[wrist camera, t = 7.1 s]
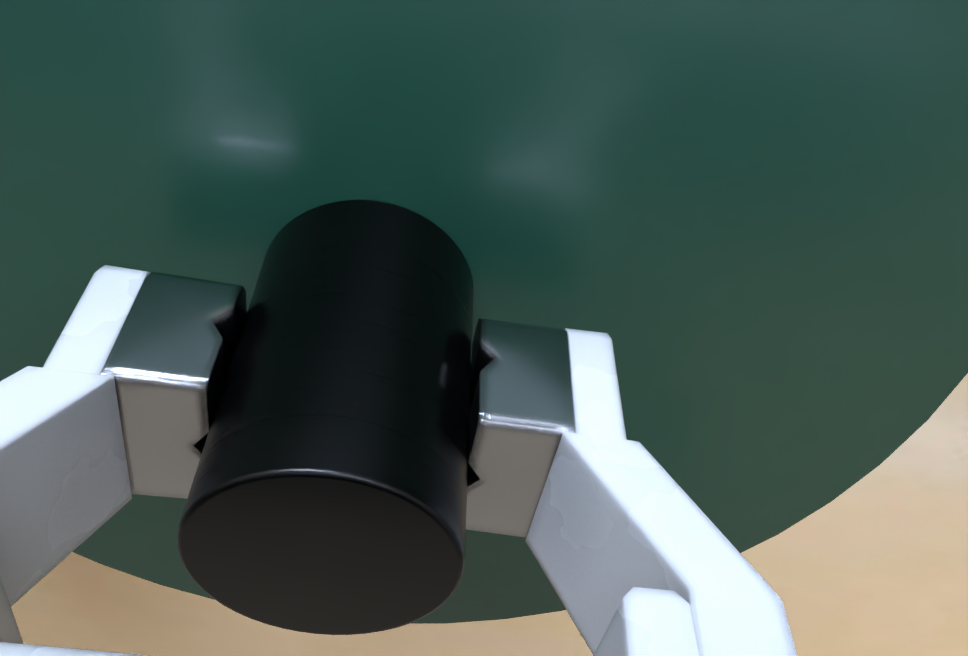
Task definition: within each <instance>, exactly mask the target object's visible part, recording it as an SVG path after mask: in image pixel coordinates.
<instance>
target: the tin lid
mask: <svg viewBox="0 0 968 656" xmlns="http://www.w3.org/2000/svg"><path fill="white" fill-rule="evenodd" d="M104 265H109V266H116V267H122V268H128V269H135V270H141V271H147V272H159V273H165V274H172V275H178V276H184V277H190V278H197V279H203V280H209V281H216V282H222V283H228V284H235V285H241V286H243V287H244V288H245V290H246V303H247V314H246V318H245V321H244V324H243V327H242V330H241V333H240V336H239V339H238V342H237V346H236V349H235V352H234V355H233V358H232V361H231V364H230V367H229V370H228V374H227V377H226V380H225V383H224V386H223V389H222V392H221V395H220V398H219V402H218V405H217V408H216V411H215V414H214V417H213V420H212V423H211V426H210V430H209V433H208V436H207V439H206V442H205V445H204V448H203V451H202V454H201V457H200V461H199V464H198V467H197V470H196V473H195V476H194V479H193V482H192V485H191V489H190V492H189V495H188V498H187V499H186V498H174V497H162V496H150V495H139V494H132V499H131V500H130V501H129V502H128V503H127V504H125V505H124V506H123V507H122V508H121V509H120V510H119V511H118V512H116V513H115V514H114V515H113V516H112V517H111V518H110V519H109V520H107V521H106V522H105V523H104V524H103V525H102V526H101V527H100V528H99V529H97V530H96V531H95V532H94V533H93V534H92V535H91V536H90V537H88V538H87V539H86V540H85V541H84V542H83V543H82V544H81V545H79V546H78V547H77V548H76V549H75V550H74V551H73V552H74V553H76V554H79V555H81V556H83V557H86V558H88V559H90V560H93V561H95V562H97V563H100V564H102V565H105V566H108V567H111V568H114V569H117V570H119V571H122V572H125V573H128V574H131V575H134V576H137V577H139V578H142V579H145V580H148V581H151V582H154V583H157V584H160V585H163V586H167V587H170V588H174V589H178V590H181V591H185V592H189V593H192V594H196V595H200V596H203V597H207V598H211V599H214V600H217V601H218V602H219V603H221V604H222V605H224V606H226V607H228V608H230V609H232V610H233V611H235V612H237V613H240V614H242V615H244V616H246V617H249V618H251V619H254V620H257V621H260V622H262V623H265V624H269V625H272V626H276V627H280V628H284V629H289V630H294V631H299V632H307V633H314V634H328V635H352V634H366V633H372V632H379V631H384V630H389V629H393V628H397V627H400V626H403V625H406V624H409V623H457V622H471V621H485V620H498V619H508V618H515V617H522V616H529V615H536V614H542V613H549V612H556V611H562V610H566V608H565V607H564V605H563V603H562V602H561V600H560V598H559V597H558V595H557V593H556V591H555V590H554V588H553V586H552V585H551V583H550V581H549V580H548V578H547V576H546V575H545V573H544V571H543V570H542V568H541V566H540V565H539V563H538V561H537V560H536V558H535V556H534V555H533V553H532V551H531V550H530V548H529V546H528V544H527V543H526V537H518V536H511V535H504V534H497V533H489V532H482V531H475V530H467V529H466V508H467V477H468V447H469V414H470V385H471V384H470V381H471V358H472V342H473V337H474V333H475V329H476V325H477V322H478V320H479V318H483V319H491V320H499V321H507V322H514V323H522V324H530V325H538V326H545V327H553V328H561V329H563V330H564V329H565V328H568V329H576V330H585V331H593V332H602V333H608V335H609V336H610V337H611V339H612V343H613V350H614V357H615V364H616V370H617V377H618V384H619V391H620V397H621V404H622V411H623V418H624V425H625V431H626V438H627V440H631V441H638V442H640V443H641V444H642V445H643V446H644V447H645V448H646V449H647V451H648V452H649V453H650V454H651V455H652V456H653V457H654V458H655V459H656V461H657V462H658V463H659V464H660V465H661V466H662V467H663V468H664V469H665V471H666V472H667V473H668V474H669V475H670V476H671V477H672V478H673V479H674V480H675V482H676V483H677V484H678V485H679V486H680V487H681V488H682V489H683V490H684V492H685V493H686V494H687V495H688V496H689V497H690V498H691V499H692V500H693V502H694V503H695V504H696V505H697V506H698V507H699V508H700V509H701V510H702V512H703V513H704V514H705V515H706V516H707V517H708V518H709V519H710V520H711V522H712V523H713V524H714V525H715V526H716V527H717V528H718V529H719V530H720V531H721V533H722V534H723V535H724V536H725V537H726V538H727V539H728V540H729V541H730V543H731V544H732V545H733V546H734V547H735V548H736V549H737V550H738V551H739V553H741V552H743V551H745V550H747V549H749V548H751V547H753V546H755V545H757V544H759V543H761V542H763V541H765V540H767V539H769V538H771V537H773V536H776V535H778V534H779V533H781V532H783V531H784V530H786V529H787V528H789V527H791V526H792V525H794V524H796V523H797V522H799V521H800V520H802V519H804V518H805V517H807V516H809V515H810V514H812V513H813V512H815V511H817V510H818V509H820V508H822V507H823V506H825V505H826V504H828V503H830V502H831V501H832V500H834V499H835V498H836V497H838V496H839V495H840V494H842V493H843V492H844V491H846V490H847V489H848V488H850V487H851V486H852V485H854V484H855V483H856V482H858V481H859V480H860V479H861V478H863V477H864V476H865V475H867V474H868V473H869V472H871V471H872V470H873V469H875V468H876V467H877V466H879V465H880V464H881V463H882V462H883V461H884V460H885V459H886V458H888V457H889V456H890V455H891V454H892V453H893V452H894V451H895V450H896V449H897V448H898V447H899V446H900V445H901V444H902V443H904V442H905V441H906V440H907V439H908V438H909V437H910V436H911V435H912V434H913V433H914V432H915V431H916V430H917V429H918V428H919V427H921V426H922V425H923V424H924V423H925V422H926V421H927V420H928V419H929V418H930V417H931V415H932V414H933V413H934V412H935V411H936V410H937V408H938V407H939V406H940V405H941V404H942V402H943V401H944V400H945V399H946V398H947V397H948V395H949V394H950V393H951V392H952V391H953V389H954V388H955V387H956V386H957V385H958V384H959V382H960V381H961V380H962V379H963V378H964V377H965V375H966V374H967V373H968V0H0V381H2V380H3V379H5V378H7V377H9V376H11V375H12V374H14V373H16V372H18V371H20V370H21V369H23V368H25V367H27V366H32V367H41V368H42V367H43V366H44V364H45V362H46V360H47V358H48V356H49V355H50V353H51V351H52V349H53V347H54V345H55V344H56V342H57V340H58V338H59V336H60V335H61V333H62V331H63V329H64V327H65V325H66V324H67V322H68V320H69V318H70V316H71V315H72V313H73V311H74V309H75V307H76V305H77V304H78V302H79V300H80V298H81V296H82V295H83V293H84V291H85V289H86V287H87V285H88V284H89V282H90V280H91V278H92V276H93V274H94V273H95V272H96V271H97V270H99V269H100V268H101V267H103V266H104Z"/></svg>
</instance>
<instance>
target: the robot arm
mask: <svg viewBox="0 0 968 656" xmlns="http://www.w3.org/2000/svg"><path fill="white" fill-rule="evenodd" d="M246 314H247V303H246V290H245V288H244V287H243V286H241V285H235V284H228V283H222V282H216V281H209V280H203V279H197V278H190V277H184V276H178V275H172V274H165V273H159V272H147V271H141V270H135V269H128V268H122V267H116V266H109V265H104V266H103V267H101V268H100V269H99V270H97V271H96V272H95V273H94V274H93V276H92V278H91V280H90V282H89V284H88V285H87V287H86V289H85V291H84V293H83V295H82V296H81V298H80V300H79V302H78V304H77V305H76V307H75V309H74V311H73V313H72V315H71V316H70V318H69V320H68V322H67V324H66V325H65V327H64V329H63V331H62V333H61V335H60V336H59V338H58V340H57V342H56V344H55V345H54V347H53V349H52V351H51V353H50V355H49V356H48V358H47V360H46V362H45V364H44V366H43V367H42V368H41V367H32V366H27V367H25V368H23V369H21V370H20V371H18V372H16V373H14V374H12V375H11V376H9V377H7V378H5V379H3V380H2V381H0V656H148V655H137V654H126V653H116V652H105V651H94V650H83V649H72V648H62V647H51V646H40V645H29V644H23V641H22V638H21V635H20V632H19V630H18V627H17V624H16V621H15V618H14V615H13V612H12V609H11V606H12V605H13V604H14V603H15V602H17V601H18V600H19V599H20V598H21V597H22V596H23V595H24V594H25V593H27V592H28V591H29V590H30V589H31V588H32V587H33V586H34V585H36V584H37V583H38V582H39V581H40V580H41V579H42V578H43V577H45V576H46V575H47V574H48V573H49V572H50V571H51V570H52V569H54V568H55V567H56V566H57V565H58V564H59V563H60V562H61V561H63V560H64V559H65V558H66V557H67V556H68V555H69V554H70V553H72V552H73V551H74V550H75V549H76V548H77V547H78V546H79V545H81V544H82V543H83V542H84V541H85V540H86V539H87V538H88V537H90V536H91V535H92V534H93V533H94V532H95V531H96V530H97V529H99V528H100V527H101V526H102V525H103V524H104V523H105V522H106V521H107V520H109V519H110V518H111V517H112V516H113V515H114V514H115V513H116V512H118V511H119V510H120V509H121V508H122V507H123V506H124V505H125V504H127V503H128V502H129V501H130V500H131V499H132V494H139V495H150V496H162V497H174V498H186V499H187V498H188V495H189V492H190V489H191V485H192V482H193V479H194V476H195V473H196V470H197V467H198V464H199V461H200V457H201V454H202V451H203V448H204V445H205V442H206V439H207V436H208V433H209V430H210V426H211V423H212V420H213V417H214V414H215V411H216V408H217V405H218V402H219V398H220V395H221V392H222V389H223V386H224V383H225V380H226V377H227V374H228V370H229V367H230V364H231V361H232V358H233V355H234V352H235V349H236V346H237V342H238V339H239V336H240V333H241V330H242V327H243V324H244V321H245V318H246ZM470 384H471V385H470V414H469V447H468V477H467V508H466V529H467V530H475V531H482V532H489V533H497V534H504V535H511V536H518V537H526V543H527V544H528V546H529V548H530V550H531V551H532V553H533V555H534V556H535V558H536V560H537V561H538V563H539V565H540V566H541V568H542V570H543V571H544V573H545V575H546V576H547V578H548V580H549V581H550V583H551V585H552V586H553V588H554V590H555V591H556V593H557V595H558V597H559V598H560V600H561V602H562V603H563V605H564V607H565V608H566V610H567V612H568V613H569V615H570V617H571V618H572V620H573V622H574V623H575V625H576V627H577V628H578V630H579V632H580V633H581V635H582V637H583V639H584V640H585V642H586V644H587V645H588V647H589V649H590V650H591V652H592V654H593V656H797V654H796V650H795V646H794V642H793V639H792V635H791V631H790V627H789V623H788V620H787V616H786V612H785V608H784V605H783V601H782V599H781V598H780V597H779V596H778V595H777V594H776V592H775V591H774V590H773V589H772V588H771V587H770V586H769V585H768V584H767V582H766V581H765V580H764V579H763V578H762V577H761V576H760V575H759V574H758V573H757V571H756V570H755V569H754V568H753V567H752V566H751V565H750V564H749V563H748V561H747V560H746V559H745V558H744V557H743V556H742V555H741V554H740V553H739V551H738V550H737V549H736V548H735V547H734V546H733V545H732V544H731V543H730V541H729V540H728V539H727V538H726V537H725V536H724V535H723V534H722V533H721V531H720V530H719V529H718V528H717V527H716V526H715V525H714V524H713V523H712V522H711V520H710V519H709V518H708V517H707V516H706V515H705V514H704V513H703V512H702V510H701V509H700V508H699V507H698V506H697V505H696V504H695V503H694V502H693V500H692V499H691V498H690V497H689V496H688V495H687V494H686V493H685V492H684V490H683V489H682V488H681V487H680V486H679V485H678V484H677V483H676V482H675V480H674V479H673V478H672V477H671V476H670V475H669V474H668V473H667V472H666V471H665V469H664V468H663V467H662V466H661V465H660V464H659V463H658V462H657V461H656V459H655V458H654V457H653V456H652V455H651V454H650V453H649V452H648V451H647V449H646V448H645V447H644V446H643V445H642V444H641V443H640V442H638V441H631V440H627V438H626V431H625V425H624V418H623V411H622V404H621V397H620V391H619V384H618V377H617V370H616V364H615V357H614V350H613V343H612V339H611V337H610V336H609V335H608V333H602V332H593V331H585V330H576V329H568V328H565V329H564V330H563V329H561V328H553V327H545V326H538V325H530V324H522V323H514V322H507V321H499V320H491V319H483V318H479V320H478V322H477V325H476V329H475V333H474V337H473V342H472V358H471V381H470Z"/></svg>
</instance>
